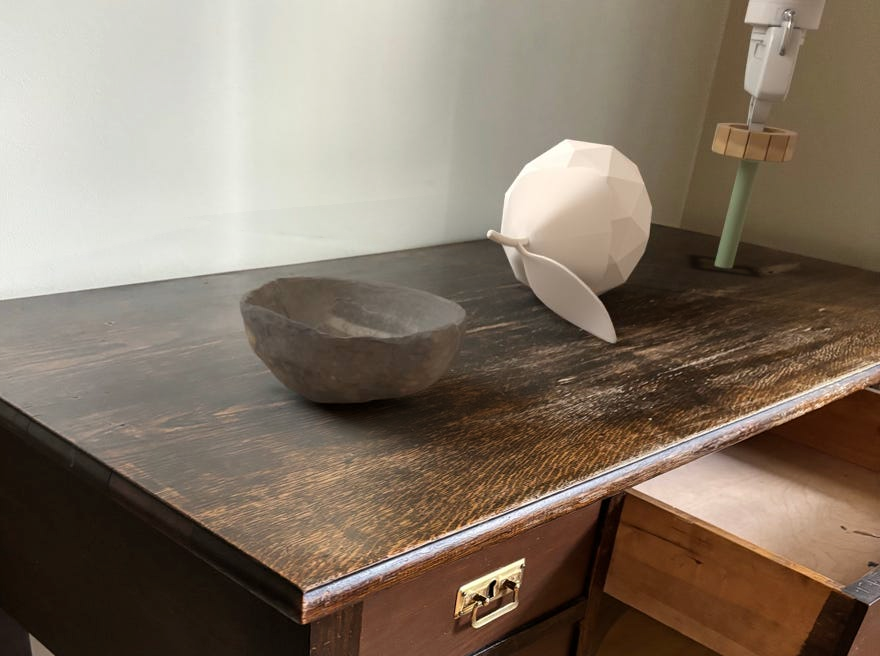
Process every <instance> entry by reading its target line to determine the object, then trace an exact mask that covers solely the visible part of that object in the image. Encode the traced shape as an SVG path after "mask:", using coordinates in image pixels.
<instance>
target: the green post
mask: <svg viewBox="0 0 880 656" xmlns="http://www.w3.org/2000/svg"><path fill="white" fill-rule="evenodd" d="M760 162H761V161H758V160H750V159H744V158H740V161H739V164H738V169H737V173H736V177H735V181H734V185H733V188H732V193H731V197H730V201H729V204H728V208H727V213H726V217H725V221H724V225H723V229H722V232H721V237H720V241H719V245H718V249H717V253H716V257H715V261H714V266H715V267H717V268H722V269H733V268H734V263H735V259H736V256H737V252H738V248H739V244H740V240H741V236H742V232H743V229H744V224H745V221H746V217H747V213H748V209H749V206H750V203H751V201H750V200H751V198H752V193H753V190H754V187H755V182H756V179H757V174H758V171H759V166H760Z"/></svg>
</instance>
